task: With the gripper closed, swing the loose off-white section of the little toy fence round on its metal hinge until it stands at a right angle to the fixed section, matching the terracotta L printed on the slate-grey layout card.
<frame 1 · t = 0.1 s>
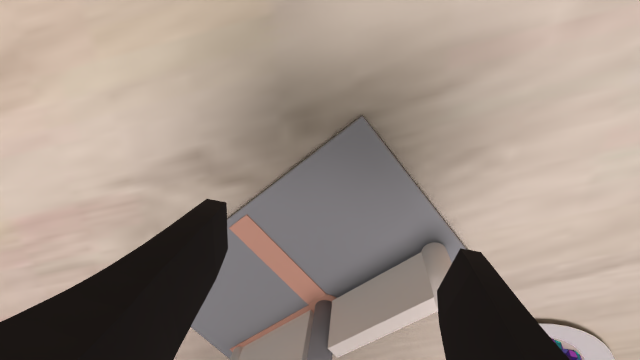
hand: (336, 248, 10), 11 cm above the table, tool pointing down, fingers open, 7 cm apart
layout card: (300, 277, 24), on the table
fence gate: (389, 301, 21), point 3 cm above the table, hinge at 0.0°
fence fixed: (326, 302, 25), resting on layout card
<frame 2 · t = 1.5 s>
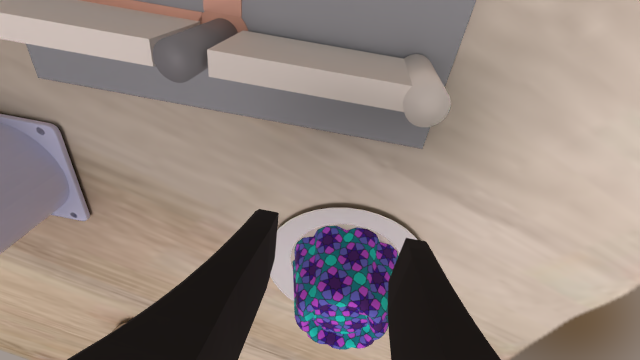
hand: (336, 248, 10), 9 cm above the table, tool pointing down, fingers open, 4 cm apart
fence gate: (331, 71, 13), point 3 cm above the table, hinge at 0.0°
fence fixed: (226, 34, 16), resting on layout card
pudding: (345, 261, 25), on the table
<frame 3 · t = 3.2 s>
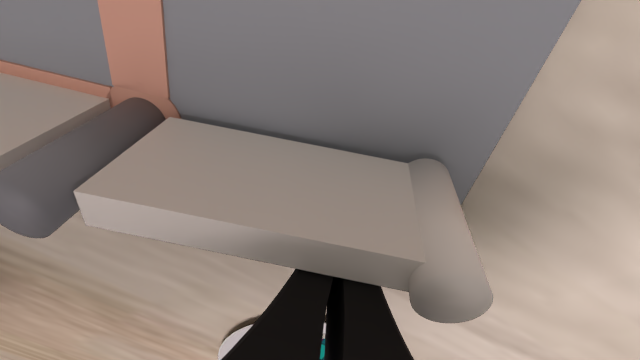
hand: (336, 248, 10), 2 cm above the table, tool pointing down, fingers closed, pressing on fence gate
layout card: (142, 20, 9), on the table
fence gate: (294, 199, 9), point 3 cm above the table, hinge at 3.0°, touching gripper
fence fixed: (152, 114, 11), resting on layout card
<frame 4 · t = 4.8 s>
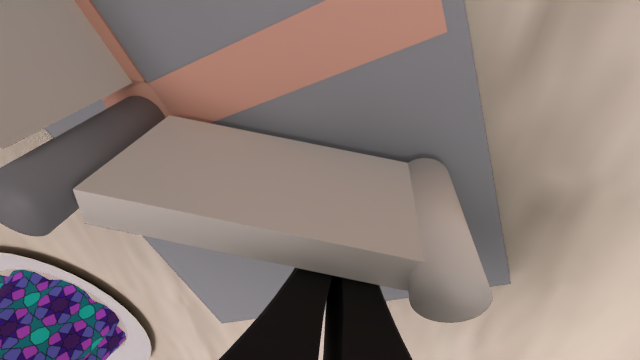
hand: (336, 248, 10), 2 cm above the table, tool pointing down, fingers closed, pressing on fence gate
layout card: (223, 82, 10), on the table
fence gate: (294, 198, 9), point 3 cm above the table, hinge at 58.5°, touching gripper
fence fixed: (151, 113, 11), resting on layout card
pudding: (66, 307, 20), on the table
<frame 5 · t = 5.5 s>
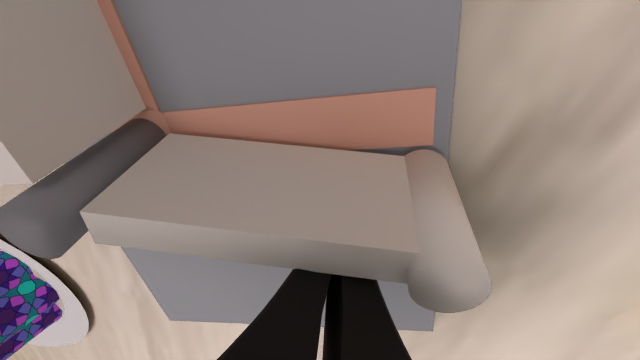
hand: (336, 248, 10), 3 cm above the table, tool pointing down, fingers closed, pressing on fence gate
layout card: (232, 126, 11), on the table
fence gate: (291, 201, 9), point 3 cm above the table, hinge at 79.8°, touching gripper
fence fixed: (154, 133, 12), resting on layout card
pudding: (1, 276, 20), on the table
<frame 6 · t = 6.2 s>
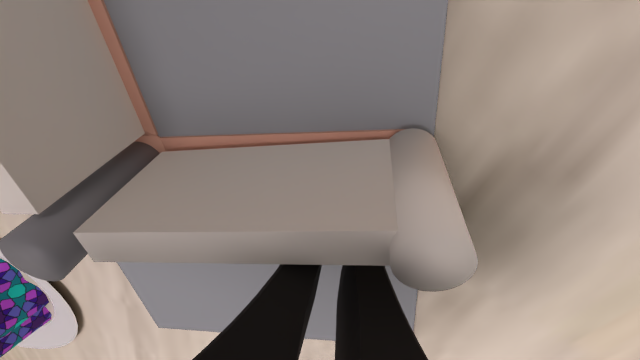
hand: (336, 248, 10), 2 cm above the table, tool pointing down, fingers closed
layout card: (227, 152, 12), on the table
fence gate: (275, 199, 9), point 3 cm above the table, hinge at 91.9°, touching gripper
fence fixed: (152, 154, 12), resting on layout card
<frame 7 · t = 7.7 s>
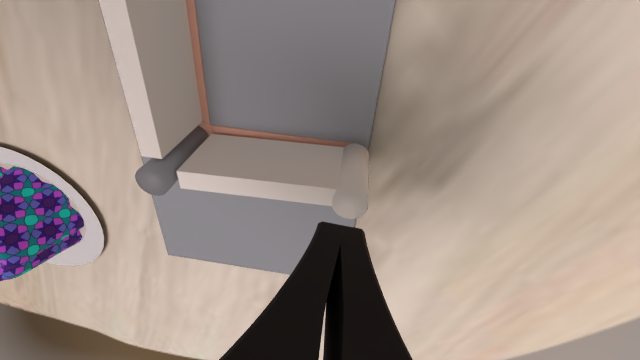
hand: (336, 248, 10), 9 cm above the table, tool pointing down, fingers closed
layout card: (249, 140, 19), on the table
fence gate: (279, 170, 17), point 3 cm above the table, hinge at 92.0°
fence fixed: (200, 133, 19), resting on layout card
pudding: (38, 205, 26), on the table
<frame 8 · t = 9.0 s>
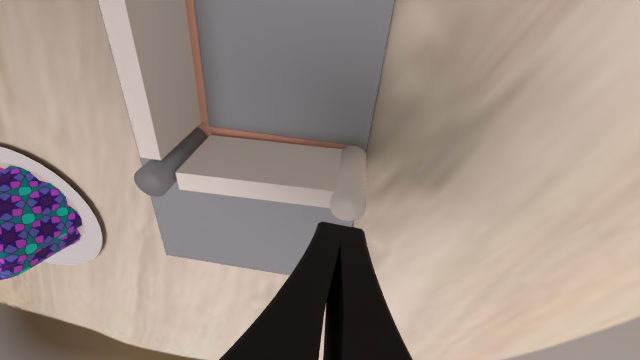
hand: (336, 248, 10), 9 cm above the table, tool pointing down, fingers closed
layout card: (247, 141, 19), on the table
fence gate: (278, 171, 17), point 3 cm above the table, hinge at 92.0°
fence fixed: (199, 134, 20), resting on layout card
pudding: (36, 204, 26), on the table
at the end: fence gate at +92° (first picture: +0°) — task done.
